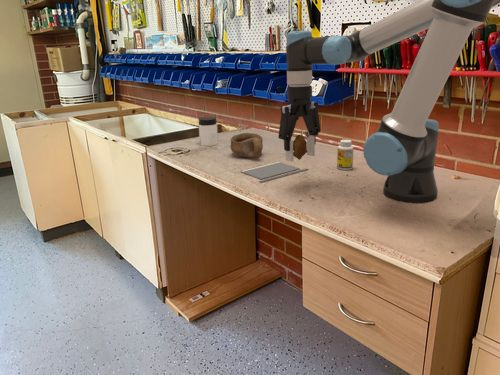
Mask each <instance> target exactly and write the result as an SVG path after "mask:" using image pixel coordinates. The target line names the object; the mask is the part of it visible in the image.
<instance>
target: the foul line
mask: <svg viewBox="0 0 500 375" xmlns="http://www.w3.org/2000/svg"><path fill="white" fill-rule="evenodd" d="M306 171H309V168H306V167H305V168H302V169H299V170H295V171H292V172H288V173H284V174H281V175H277V176H273V177H270V178H266V179H262V180H259V181H258V182H259V183H261V184H262V183H266V182H269V181H273V180H277V179H280V178H283V177H288V176H291V175H295V174H299V173H302V172H306Z"/></svg>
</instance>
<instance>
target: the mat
mask: <svg viewBox="0 0 500 375" xmlns="http://www.w3.org/2000/svg"><path fill="white" fill-rule="evenodd" d="M298 170H301V169H300V167H296V166H293V165H290V164H287V163H284V162H281V161H275V162H271V163H268V164H263V165H259V166H256V167H251V168H247V169H244V170H240V172H239V173H242V174H244V175H247V176H249V177H253V178H256V179H259V181H262V180H265V179H269V178H273V177H276V176H280V175H284V174H287V173H291V172H295V171H298Z"/></svg>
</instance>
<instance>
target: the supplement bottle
mask: <svg viewBox="0 0 500 375" xmlns="http://www.w3.org/2000/svg"><path fill="white" fill-rule="evenodd" d="M354 150H355V149H354V146H353V144H352V140H350V139H341V140H340V141H339V145H338V146H337V156H336V157H337V158H336V159H337V160H336V167H337V169H339V170H343V171H350V170H352V169H353V167H354V166H353V165H354V164H353V163H354Z"/></svg>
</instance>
